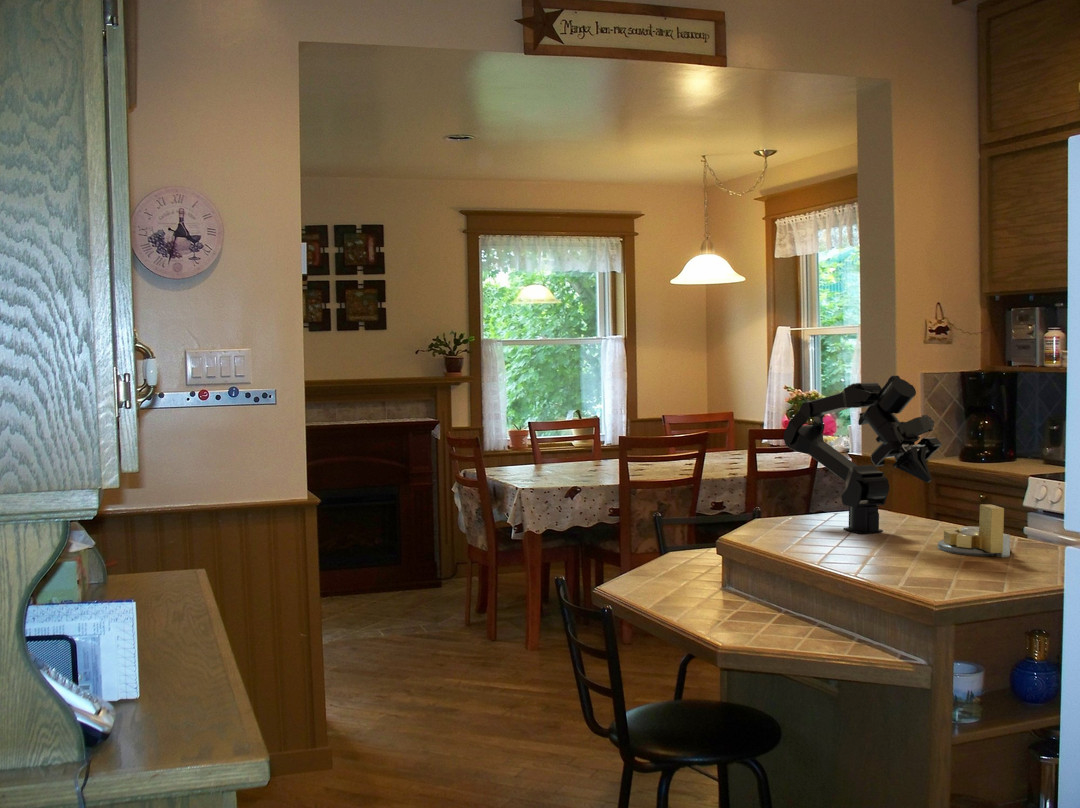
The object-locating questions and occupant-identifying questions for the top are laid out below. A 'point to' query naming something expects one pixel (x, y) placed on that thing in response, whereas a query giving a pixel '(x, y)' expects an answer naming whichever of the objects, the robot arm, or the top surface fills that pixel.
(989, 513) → the beige block cluster
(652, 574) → the top surface
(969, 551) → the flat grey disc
